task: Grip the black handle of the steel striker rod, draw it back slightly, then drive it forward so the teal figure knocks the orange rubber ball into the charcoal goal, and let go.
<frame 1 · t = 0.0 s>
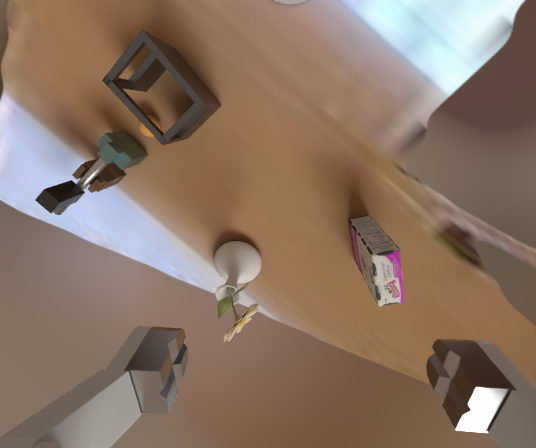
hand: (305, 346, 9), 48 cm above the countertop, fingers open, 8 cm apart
rod cradle: (112, 170, 56), on the countertop
ball: (149, 126, 50), point 2 cm above the countertop
striker rod: (85, 181, 49), point 8 cm above the countertop, slide at 0.0 cm
candy bar box: (361, 237, 60), on the countertop
flower in vase: (241, 256, 63), on the countertop
goal: (182, 96, 50), on the countertop
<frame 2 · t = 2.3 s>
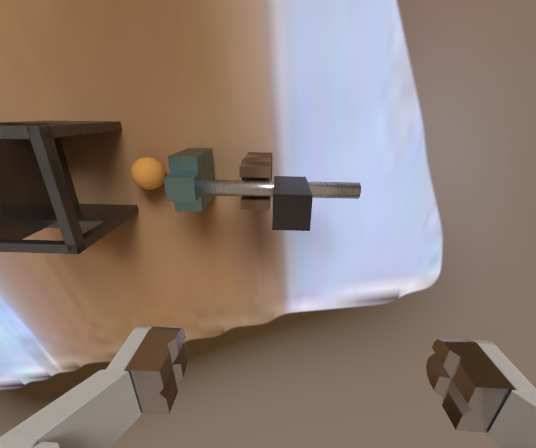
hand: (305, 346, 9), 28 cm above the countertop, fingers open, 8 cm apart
rod cradle: (260, 172, 34), on the countertop
ball: (148, 173, 33), point 2 cm above the countertop
striker rod: (262, 188, 27), point 8 cm above the countertop, slide at 0.0 cm
goal: (95, 169, 35), on the countertop
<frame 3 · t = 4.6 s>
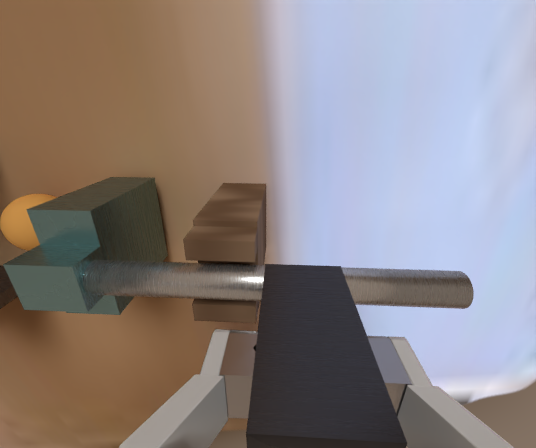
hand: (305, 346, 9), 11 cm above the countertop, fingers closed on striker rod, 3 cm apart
rod cradle: (245, 216, 19), on the countertop
ball: (41, 222, 18), point 2 cm above the countertop
striker rod: (239, 279, 12), point 8 cm above the countertop, slide at 0.0 cm, touching gripper
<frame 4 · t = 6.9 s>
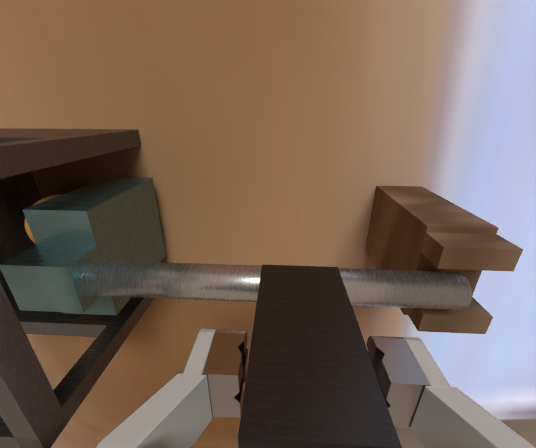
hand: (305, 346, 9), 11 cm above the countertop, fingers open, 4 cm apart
rod cradle: (392, 220, 19), on the countertop
striker rod: (236, 280, 12), point 8 cm above the countertop, slide at 10.7 cm
goal: (92, 213, 20), on the countertop
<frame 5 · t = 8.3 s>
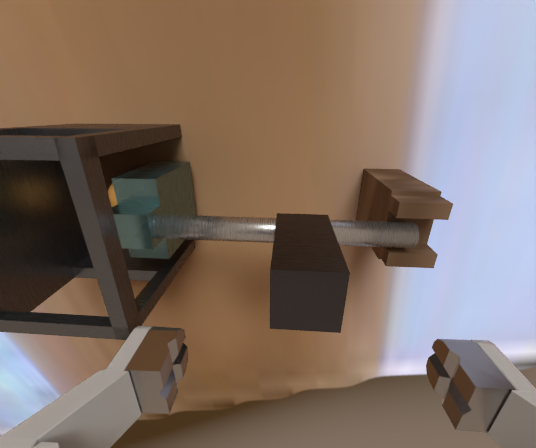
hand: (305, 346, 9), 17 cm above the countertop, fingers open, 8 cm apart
rod cradle: (376, 196, 24), on the countertop
striker rod: (258, 228, 17), point 8 cm above the countertop, slide at 10.7 cm
goal: (140, 190, 25), on the countertop
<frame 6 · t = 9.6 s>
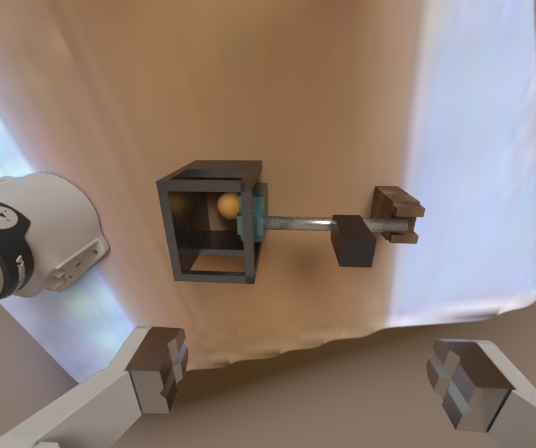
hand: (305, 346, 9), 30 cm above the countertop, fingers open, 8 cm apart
rod cradle: (383, 203, 37), on the countertop
ball: (231, 205, 37), point 2 cm above the countertop, tilted 140°
striker rod: (319, 223, 31), point 8 cm above the countertop, slide at 10.7 cm
goal: (231, 200, 39), on the countertop
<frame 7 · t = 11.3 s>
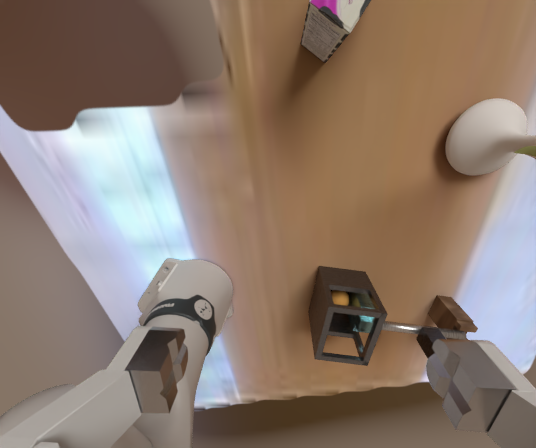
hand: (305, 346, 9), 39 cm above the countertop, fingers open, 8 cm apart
rod cradle: (439, 305, 55), on the countertop
ball: (339, 299, 53), point 2 cm above the countertop, tilted 137°
striker rod: (409, 327, 48), point 8 cm above the countertop, slide at 10.7 cm
candy bar box: (334, 15, 37), on the countertop
flower in vase: (471, 137, 42), on the countertop
goal: (335, 292, 55), on the countertop
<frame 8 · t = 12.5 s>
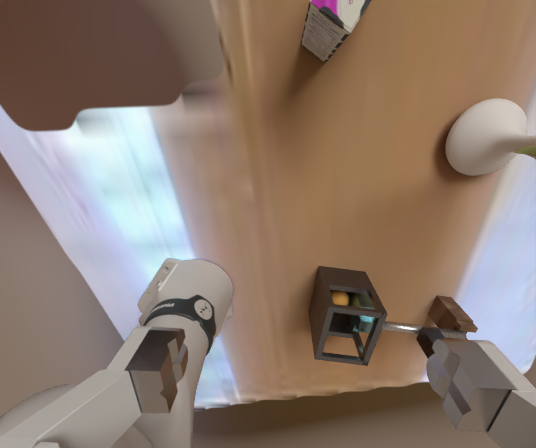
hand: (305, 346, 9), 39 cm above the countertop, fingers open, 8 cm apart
rod cradle: (439, 305, 55), on the countertop
ball: (338, 299, 53), point 2 cm above the countertop, tilted 135°
striker rod: (409, 327, 48), point 8 cm above the countertop, slide at 10.7 cm
candy bar box: (334, 15, 37), on the countertop
flower in vase: (471, 137, 42), on the countertop
goal: (335, 292, 55), on the countertop
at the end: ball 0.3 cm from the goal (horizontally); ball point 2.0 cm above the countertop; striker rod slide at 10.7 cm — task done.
